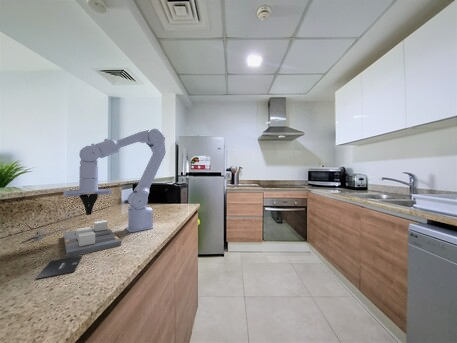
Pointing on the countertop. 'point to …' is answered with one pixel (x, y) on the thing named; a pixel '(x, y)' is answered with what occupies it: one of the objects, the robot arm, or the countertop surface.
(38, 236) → the pliers
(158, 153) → the robot arm
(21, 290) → the countertop surface
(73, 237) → the switch board
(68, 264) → the solid state drive
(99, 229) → the tab
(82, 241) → the white block
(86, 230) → the tab
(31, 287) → the countertop surface
